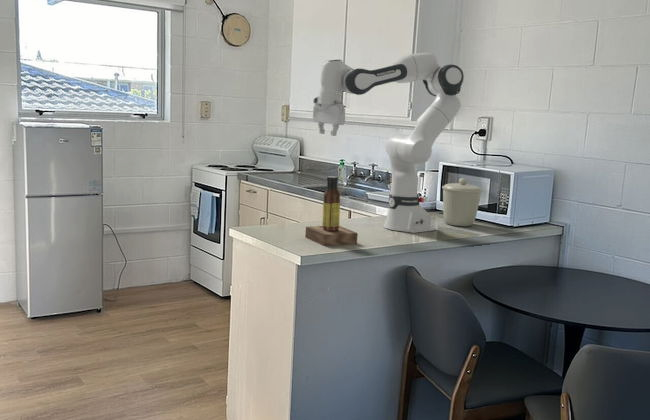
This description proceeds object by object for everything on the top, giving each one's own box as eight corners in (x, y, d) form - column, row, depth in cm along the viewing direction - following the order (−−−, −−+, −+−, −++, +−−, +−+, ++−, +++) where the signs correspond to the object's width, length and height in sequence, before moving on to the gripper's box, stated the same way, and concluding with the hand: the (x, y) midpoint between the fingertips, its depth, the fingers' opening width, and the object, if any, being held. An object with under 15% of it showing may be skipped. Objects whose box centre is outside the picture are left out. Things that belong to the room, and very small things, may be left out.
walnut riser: (337, 235, 247) (337, 225, 247) (356, 243, 236) (357, 233, 235) (305, 237, 240) (305, 226, 240) (323, 245, 229) (324, 234, 228)
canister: (429, 221, 291) (434, 175, 287) (456, 219, 302) (461, 175, 298) (460, 229, 277) (465, 181, 273) (487, 227, 287) (492, 180, 284)
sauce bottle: (339, 229, 240) (343, 176, 236) (337, 232, 234) (342, 178, 230) (322, 227, 240) (326, 174, 237) (320, 230, 234) (323, 176, 231)
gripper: (350, 101, 252) (347, 137, 254) (324, 99, 269) (322, 133, 271) (336, 101, 249) (334, 136, 251) (311, 99, 266) (309, 132, 268)
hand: (327, 134), depth 261 cm, fingers open, 8 cm apart
